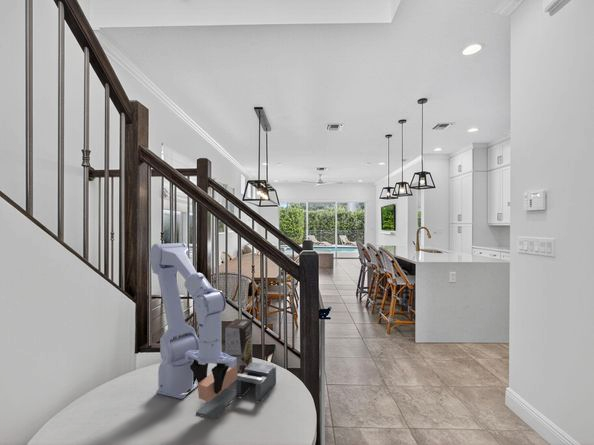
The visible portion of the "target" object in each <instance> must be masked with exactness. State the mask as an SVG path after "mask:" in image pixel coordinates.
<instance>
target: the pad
mask: <svg viewBox="0 0 594 445" xmlns="http://www.w3.org/2000/svg"><path fill="white" fill-rule="evenodd" d="M235 397H236V389H230V388H225V389H224V390H223V391H222V392H220V393H219V394H218V395H217V396H215V397H214V398H213V399H212V400H210V401H209V402H207V401H205V403H204V404H203V405H201V407H199V408H198V409H197V410H196V412H195V414H196V415H197V414H199V415H198V416H201V415H202V416H201V417H205V418H210V419H212V420H217V419H218V417H219V416H220V415H222V413H223V412H224V411H225V410H226V409H227V408H228V407H229V406H230V404H231V403H232V402H233V401H234V400H235V399H236V398H237V397H236V398H235ZM234 398H235V399H234ZM233 399H234V400H233ZM232 400H233V401H232ZM231 401H232V402H231ZM230 402H231V403H230ZM227 406H228V407H227ZM226 407H227V408H226ZM225 408H226V409H225Z"/></svg>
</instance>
